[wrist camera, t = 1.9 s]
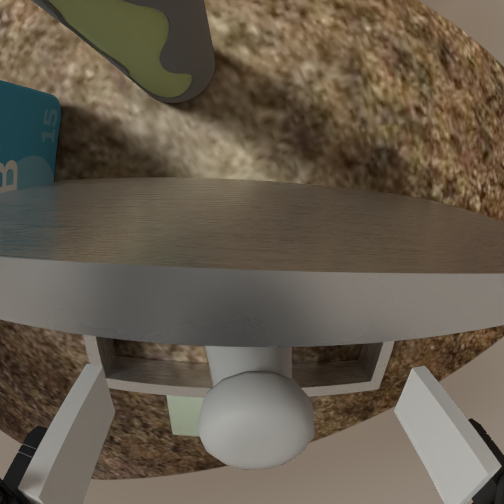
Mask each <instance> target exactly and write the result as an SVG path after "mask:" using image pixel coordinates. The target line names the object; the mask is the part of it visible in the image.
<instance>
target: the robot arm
mask: <svg viewBox="0 0 504 504" xmlns="http://www.w3.org/2000/svg"><path fill="white" fill-rule="evenodd" d="M394 412H395V414H396V416H397V418H398V419H399V421H400V423H401V425H402V426H403V428H404V430H405V432H406V434H407V435H408V437H409V439H410V441H411V442H412V444H413V446H414V448H415V450H416V451H417V453H418V455H419V457H420V459H421V460H422V462H423V464H424V466H425V468H426V470H427V471H428V473H429V475H430V477H431V479H432V481H433V483H434V485H435V487H436V488H437V490H438V492H439V494H440V496H441V498H442V500H443V502H444V504H466V503H467V502H468V501H469V500H470V499H471V498H472V500H473V503H472V504H504V455H503V454H502V452H501V451H500V450H499V448H498V447H497V446H496V444H495V443H494V442H493V441H491V438H490V436H489V435H488V434H486V431H485V430H484V429H483V427H482V426H481V425H480V424H479V423H477V422H476V421H475V420H473V419H469V420H468V419H467V418H466V417H465V415H464V414H463V413H462V411H461V410H460V409H459V408H458V406H457V405H456V404H455V403H454V401H453V400H452V399H451V397H450V396H449V395H448V394H447V392H445V390H444V389H443V387H442V386H441V385H440V384H439V382H438V381H437V380H436V379H435V378H434V376H433V375H432V374H431V373H430V371H429V370H428V369H427V368H426V367H425V366H421V367H415V368H412V369H411V372H410V374H409V377H408V379H407V382H406V384H405V387H404V389H403V391H402V394H401V396H400V398H399V401H398V403H397V405H396V407H395V409H394ZM115 413H116V412H115V409H114V406H113V402H112V399H111V395H110V392H109V388H108V385H107V381H106V377H105V373H104V369H103V366H98V365H92V364H86V366H85V367H84V369H83V370H82V372H81V374H80V375H79V377H78V379H77V380H76V382H75V383H74V385H73V387H72V388H71V390H70V392H69V393H68V395H67V397H66V398H65V400H64V402H63V404H62V405H61V407H60V409H59V411H58V412H57V414H56V416H55V418H54V419H53V421H52V423H51V425H50V426H49V428H48V429H47V428H44V427H41V426H37V427H36V428H34V429H33V430H32V431H31V432H29V433H28V435H27V437H26V439H25V440H24V442H23V445H22V446H21V447H20V449H19V453H17V455H16V457H15V458H14V460H13V462H12V464H11V466H10V468H9V469H8V471H7V473H6V475H5V477H4V479H3V480H1V479H0V504H83V501H84V498H85V495H86V492H87V489H88V486H89V483H90V480H91V477H92V474H93V471H94V469H95V466H96V463H97V460H98V457H99V455H100V452H101V449H102V447H103V444H104V441H105V438H106V436H107V433H108V431H109V428H110V425H111V423H112V420H113V418H114V415H115Z"/></svg>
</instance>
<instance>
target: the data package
mask: <svg viewBox="0 0 504 504" xmlns="http://www.w3.org/2000/svg"><path fill="white" fill-rule="evenodd" d="M60 122H61V107H60V103H59V101H58V99H57V98H56V97H55V96H54V95H51V94H48V93H44V92H41V91H38V90H34V89H31V88H27V87H24V86H20V85H16V84H13V83H9V82H5V81H1V80H0V193H3V192H7V191H12V190H16V189H21V188H26V187H30V186H35V185H40V184H46V183H51V182H54V174H55V162H56V152H57V143H58V135H59V128H60Z"/></svg>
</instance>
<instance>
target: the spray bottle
mask: <svg viewBox="0 0 504 504" xmlns="http://www.w3.org/2000/svg"><path fill="white" fill-rule="evenodd" d="M31 1H33V2H34V3H35V4H37V5H38V6H40V7H41V8H42V9H44V10H45V11H46V12H48V13H49V14H50V15H52V16H53V17H54V18H55V19H57V20H58V21H59V22H61V23H62V24H63V25H65V26H66V27H67V28H69V29H70V30H72V31H73V32H74V33H75V34H77V35H78V36H79V37H80V38H81V39H83V40H84V41H85V42H86V43H87V44H89V45H90V46H91V47H92V48H94V49H95V50H96V51H97V52H99V53H100V54H101V55H102V56H103V57H105V58H106V59H107V60H108V61H109V62H111V63H112V64H113V65H114V66H115V67H117V68H118V69H119V70H120V71H121V72H123V73H124V74H125V75H126V76H127V77H129V78H130V79H131V80H132V81H133V82H134V83H136V84H137V85H138V86H139V87H140V88H141V89H143V90H144V91H145V92H146V93H147V94H148V95H149V96H151V97H152V98H154V99H156V100H158V101H161V102H166V103H179V102H184V101H187V100H190V99H192V98H194V97H196V96H197V95H199V94H200V93H201V92H202V91H203V90H204V89H205V88H206V87H207V86H208V85H209V83H210V82H211V80H212V78H213V75H214V72H215V56H214V51H213V46H212V40H211V35H210V30H209V24H208V19H207V14H206V8H205V3H204V0H31Z"/></svg>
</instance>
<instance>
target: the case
mask: <svg viewBox="0 0 504 504" xmlns="http://www.w3.org/2000/svg"><path fill="white" fill-rule="evenodd" d="M0 320H4V321H9V322H14V323H19V324H24V325H29V326H34V327H39V328H45V329H50V330H56V331H62V332H69V333H75V334H82V335H83V337H84V341H85V345H86V350H87V354H88V358H89V362H90V364H92V365H98V366H103V369H104V373H105V377H106V381H107V385H108V388H112V389H118V390H125V391H133V392H141V393H149V394H159V395H170V396H182V397H198V398H204V396H205V395H206V393H207V392H208V391H209V390H210V389H211V388H213V383H212V378H211V373H210V368H209V363H193V362H177V361H164V360H152V359H142V358H133V357H124V356H116V351H115V346H114V341H113V339H122V340H132V341H142V342H153V343H166V344H181V345H198V346H223V347H309V346H333V345H351V344H362V348H361V351H360V355H359V358H358V360H352V361H339V362H323V363H301V364H292V379H293V380H294V381H295V382H296V383H297V384H298V385H299V386H300V387H301V388H302V390H303V391H304V392H305V393H306V394H307V395H308V397H313V396H325V395H336V394H345V393H354V392H362V391H370V390H376V389H379V386H380V384H381V381H382V378H383V375H384V373H385V370H386V367H387V364H388V361H389V358H390V355H391V352H392V349H393V346H394V342H395V341H399V340H409V339H417V338H426V337H433V336H441V335H448V334H454V333H461V332H467V331H473V330H479V329H484V328H490V327H495V326H500V325H504V222H503V221H500V220H497V219H494V218H490V217H487V216H484V215H481V214H478V213H475V212H471V211H468V210H465V209H461V208H458V207H454V206H451V205H447V204H444V203H440V202H436V201H433V200H429V199H425V198H418V197H412V196H405V195H398V194H391V193H383V192H376V191H368V190H359V189H351V188H341V187H332V186H322V185H311V184H299V183H286V182H272V181H256V180H238V179H213V178H165V177H141V178H95V179H72V180H62V181H56V182H51V183H46V184H40V185H35V186H30V187H26V188H21V189H16V190H12V191H7V192H3V193H0Z"/></svg>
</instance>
